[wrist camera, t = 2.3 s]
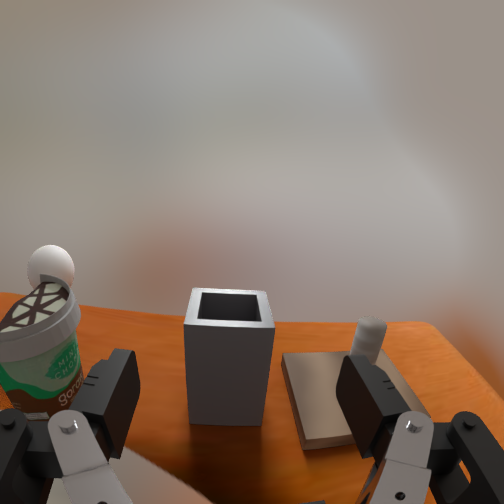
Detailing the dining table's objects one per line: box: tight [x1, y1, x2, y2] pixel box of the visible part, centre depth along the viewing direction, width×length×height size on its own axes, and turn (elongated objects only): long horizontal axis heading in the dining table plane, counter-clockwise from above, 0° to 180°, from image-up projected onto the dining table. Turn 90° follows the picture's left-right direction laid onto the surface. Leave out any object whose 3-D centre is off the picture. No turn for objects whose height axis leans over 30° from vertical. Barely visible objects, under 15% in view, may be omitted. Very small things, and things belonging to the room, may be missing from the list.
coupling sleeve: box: [184, 288, 275, 426], centre depth 24 cm, size 6×6×10 cm
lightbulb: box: [27, 245, 74, 290], centre depth 30 cm, size 6×6×11 cm
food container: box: [0, 274, 84, 421], centre depth 21 cm, size 12×6×10 cm, turn 9°
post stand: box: [281, 317, 431, 450], centre depth 25 cm, size 12×12×8 cm
